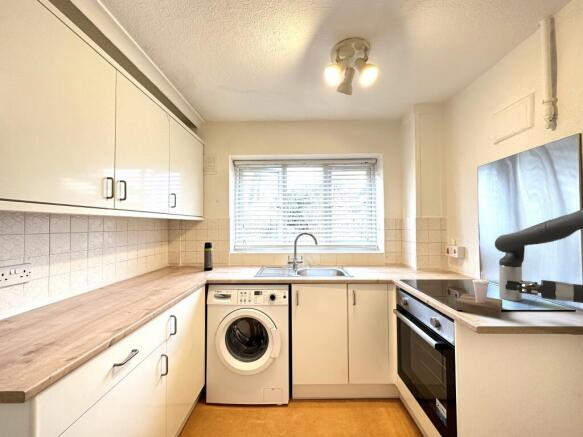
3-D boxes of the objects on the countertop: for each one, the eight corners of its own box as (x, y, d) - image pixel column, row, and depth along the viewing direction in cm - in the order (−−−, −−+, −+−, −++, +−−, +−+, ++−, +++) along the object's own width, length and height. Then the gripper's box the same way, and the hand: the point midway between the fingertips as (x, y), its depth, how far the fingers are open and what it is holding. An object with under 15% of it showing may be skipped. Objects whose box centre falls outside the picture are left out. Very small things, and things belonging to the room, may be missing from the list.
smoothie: (492, 304, 125) (491, 273, 124) (476, 303, 126) (475, 272, 126) (485, 299, 131) (485, 270, 131) (470, 299, 132) (469, 269, 132)
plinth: (463, 301, 142) (462, 293, 141) (502, 308, 131) (502, 299, 131) (456, 309, 129) (456, 301, 129) (499, 317, 119) (499, 308, 119)
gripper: (555, 278, 118) (507, 273, 129) (557, 285, 107) (504, 279, 118) (555, 295, 118) (507, 289, 129) (557, 304, 107) (505, 296, 118)
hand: (506, 284), depth 123 cm, fingers open, 8 cm apart
